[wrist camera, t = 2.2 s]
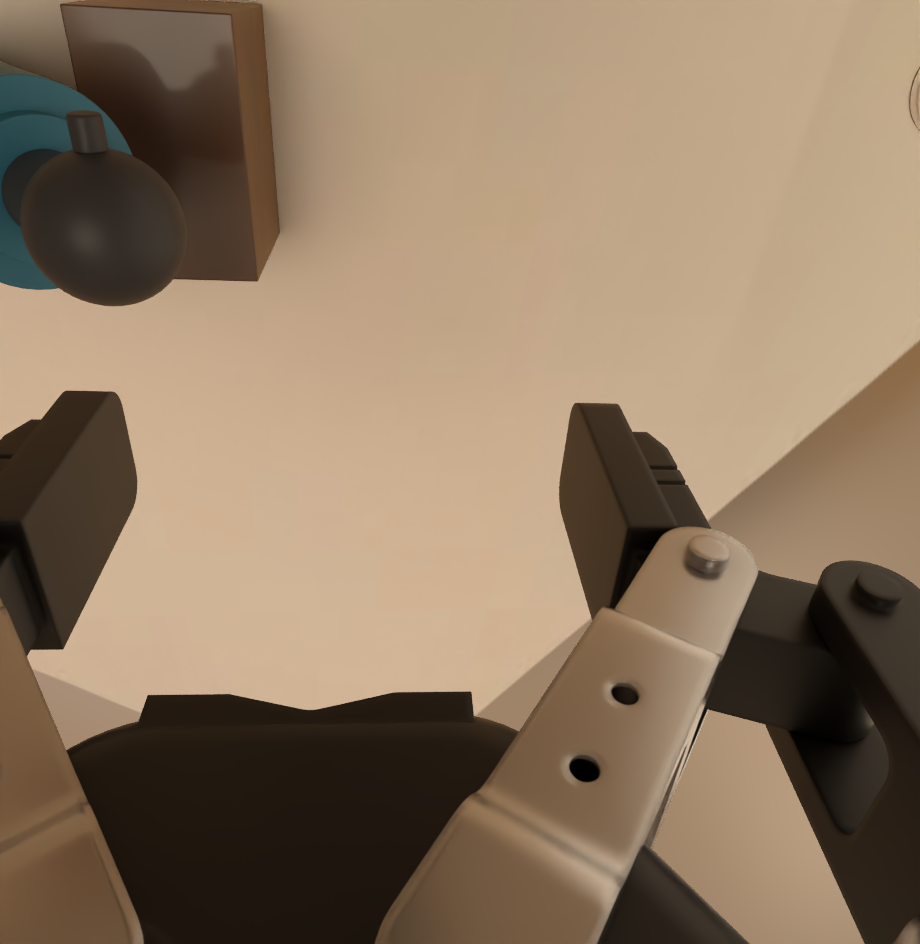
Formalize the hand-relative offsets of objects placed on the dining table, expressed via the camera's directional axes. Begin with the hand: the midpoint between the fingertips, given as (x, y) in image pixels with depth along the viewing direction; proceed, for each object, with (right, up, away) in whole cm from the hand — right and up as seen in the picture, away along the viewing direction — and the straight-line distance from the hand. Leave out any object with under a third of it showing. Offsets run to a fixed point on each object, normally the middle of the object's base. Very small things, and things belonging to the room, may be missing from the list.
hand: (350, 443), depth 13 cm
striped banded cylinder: (-16, +16, +22) cm, 31 cm away
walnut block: (-10, +16, +23) cm, 29 cm away
